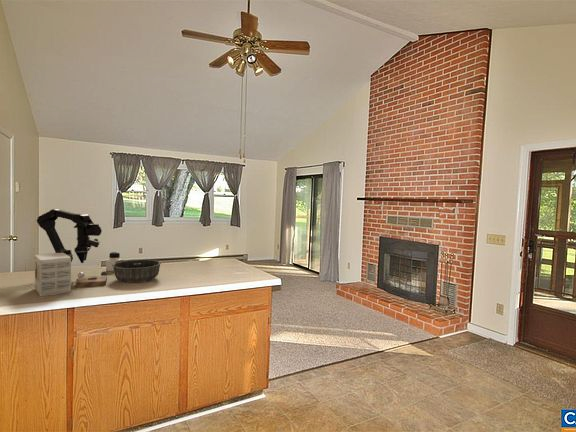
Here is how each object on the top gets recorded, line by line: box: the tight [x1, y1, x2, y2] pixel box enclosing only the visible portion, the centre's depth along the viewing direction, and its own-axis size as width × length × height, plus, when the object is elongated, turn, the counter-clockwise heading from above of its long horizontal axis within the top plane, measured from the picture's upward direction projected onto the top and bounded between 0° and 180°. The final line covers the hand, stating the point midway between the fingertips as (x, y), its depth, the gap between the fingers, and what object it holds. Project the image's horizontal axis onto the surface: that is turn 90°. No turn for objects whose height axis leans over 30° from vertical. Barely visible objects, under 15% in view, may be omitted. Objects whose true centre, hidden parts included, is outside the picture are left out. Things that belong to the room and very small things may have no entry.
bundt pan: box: [112, 259, 162, 284], centre depth 202 cm, size 26×26×10 cm
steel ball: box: [77, 271, 86, 279], centre depth 200 cm, size 4×4×4 cm
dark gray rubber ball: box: [100, 270, 108, 276], centre depth 205 cm, size 4×4×4 cm
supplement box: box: [34, 252, 72, 297], centre depth 174 cm, size 17×13×18 cm
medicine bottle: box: [105, 251, 124, 273], centre depth 223 cm, size 7×7×12 cm
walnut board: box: [75, 274, 108, 288], centre depth 190 cm, size 14×14×2 cm
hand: (83, 261), depth 199 cm, fingers open, 9 cm apart
